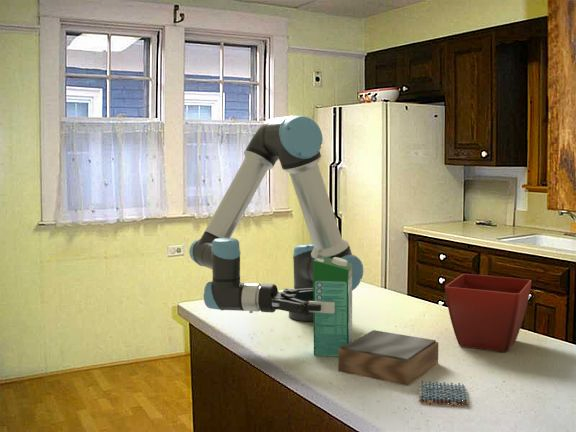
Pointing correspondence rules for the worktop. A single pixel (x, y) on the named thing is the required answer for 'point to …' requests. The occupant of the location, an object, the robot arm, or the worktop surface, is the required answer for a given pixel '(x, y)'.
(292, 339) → the worktop surface
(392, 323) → the worktop surface
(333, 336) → the milk carton
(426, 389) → the woven mat
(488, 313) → the plant pot
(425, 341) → the podium
